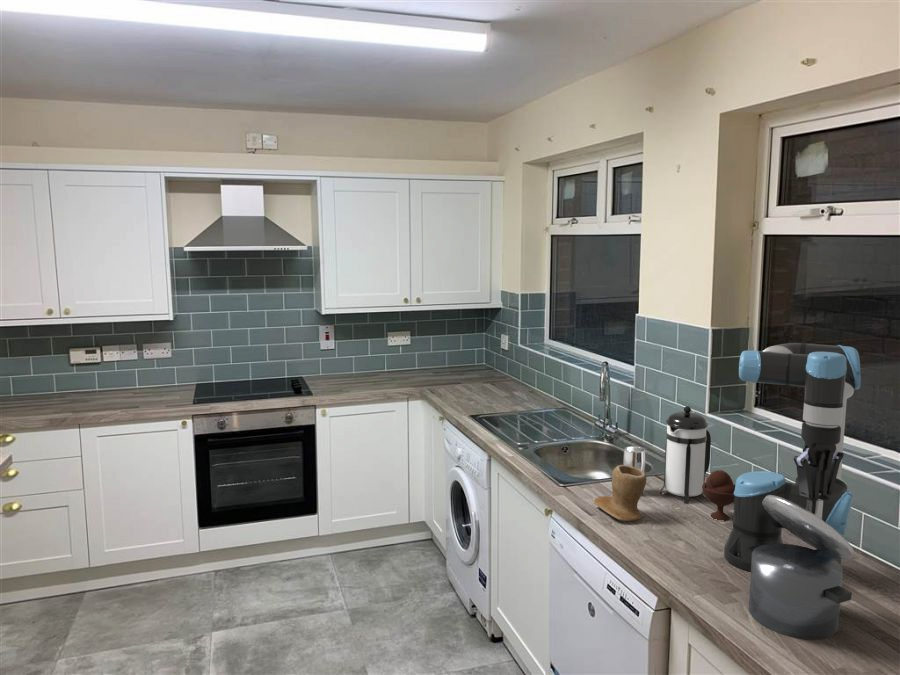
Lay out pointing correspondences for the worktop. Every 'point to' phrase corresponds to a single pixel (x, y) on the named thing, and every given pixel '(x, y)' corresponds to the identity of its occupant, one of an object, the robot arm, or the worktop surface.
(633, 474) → the tan flared hollow piece
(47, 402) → the worktop surface
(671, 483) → the coffee press
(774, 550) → the pressure cooker pot
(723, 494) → the ice cream bowl
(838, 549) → the pot lid
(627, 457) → the silver metal cylinder
